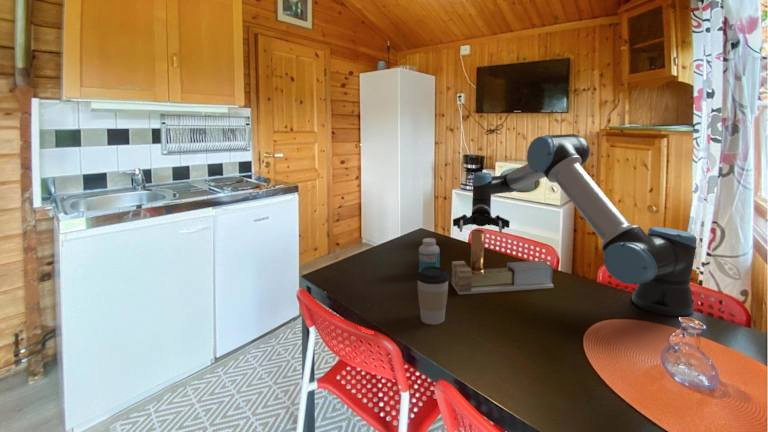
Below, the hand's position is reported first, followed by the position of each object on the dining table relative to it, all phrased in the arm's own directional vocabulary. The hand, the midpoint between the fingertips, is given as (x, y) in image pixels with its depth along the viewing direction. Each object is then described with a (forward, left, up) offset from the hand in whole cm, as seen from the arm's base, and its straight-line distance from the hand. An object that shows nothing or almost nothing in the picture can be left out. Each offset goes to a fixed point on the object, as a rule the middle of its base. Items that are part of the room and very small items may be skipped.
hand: (480, 228), depth 144 cm
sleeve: (-10, -14, -17) cm, 24 cm away
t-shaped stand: (-10, 0, -16) cm, 19 cm away
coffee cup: (-29, +24, -18) cm, 41 cm away
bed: (-10, -4, -17) cm, 21 cm away
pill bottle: (+3, +18, -18) cm, 25 cm away
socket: (-10, +10, -17) cm, 22 cm away
